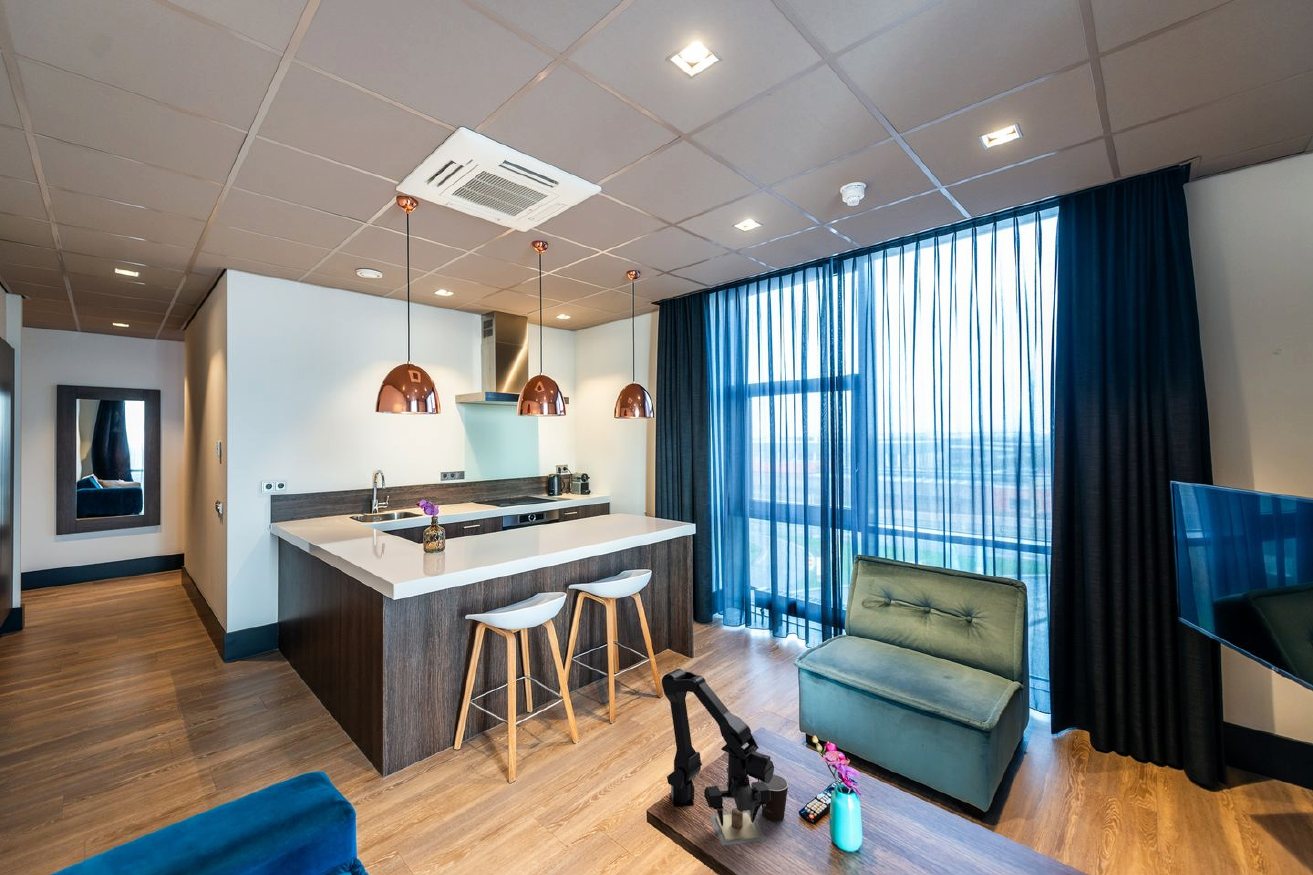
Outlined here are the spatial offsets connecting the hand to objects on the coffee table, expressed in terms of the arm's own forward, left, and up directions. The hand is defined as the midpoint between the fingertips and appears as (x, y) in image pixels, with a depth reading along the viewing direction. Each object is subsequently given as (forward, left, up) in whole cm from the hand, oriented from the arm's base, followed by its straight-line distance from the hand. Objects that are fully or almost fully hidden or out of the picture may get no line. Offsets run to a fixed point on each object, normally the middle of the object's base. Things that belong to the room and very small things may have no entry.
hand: (737, 823), depth 160 cm
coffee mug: (+13, +5, -2) cm, 14 cm away
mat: (0, 0, -1) cm, 1 cm away
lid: (0, 0, -1) cm, 1 cm away
